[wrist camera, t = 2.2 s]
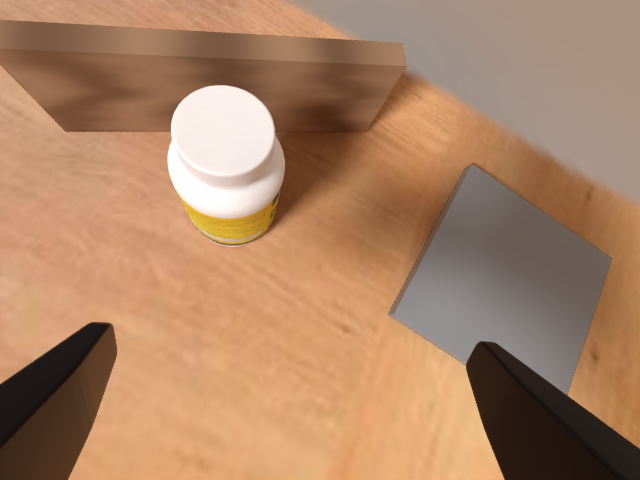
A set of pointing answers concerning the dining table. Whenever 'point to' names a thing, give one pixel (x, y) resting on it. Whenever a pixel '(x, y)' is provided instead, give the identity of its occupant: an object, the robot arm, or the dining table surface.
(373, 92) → the walnut screen
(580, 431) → the robot arm
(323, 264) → the dining table surface
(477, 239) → the grey mat
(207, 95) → the supplement bottle
